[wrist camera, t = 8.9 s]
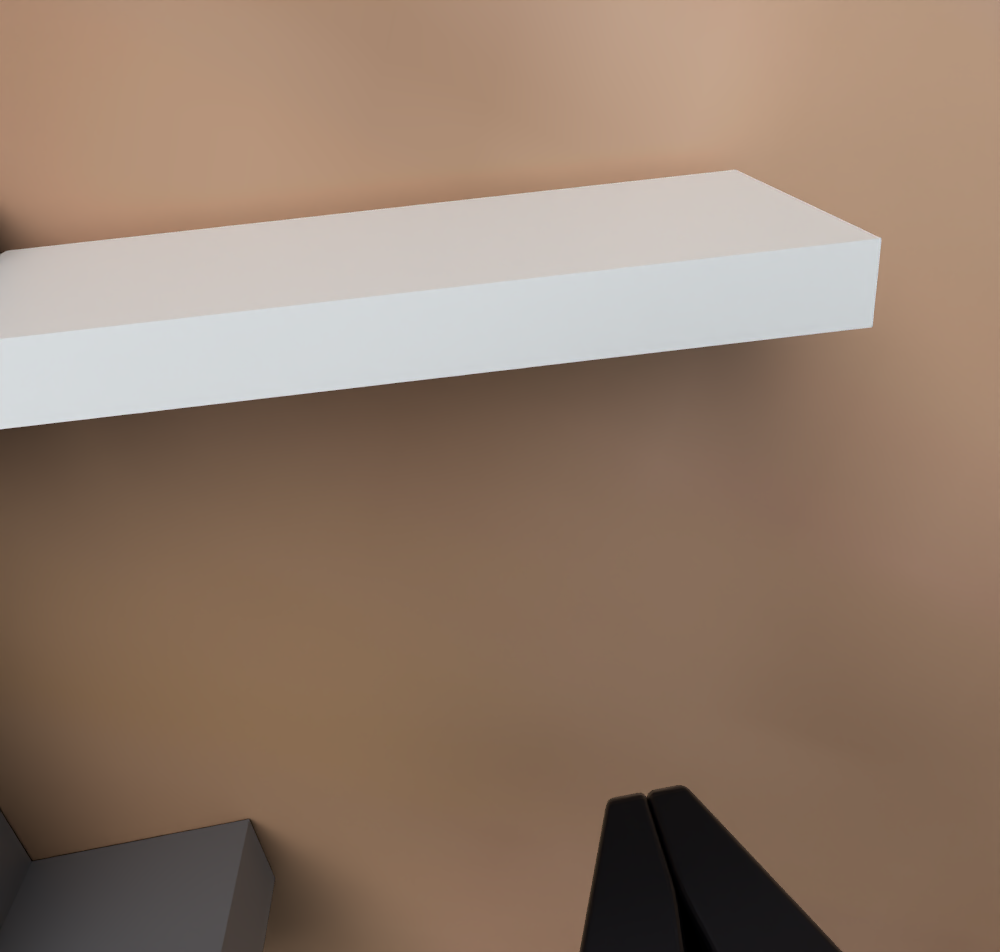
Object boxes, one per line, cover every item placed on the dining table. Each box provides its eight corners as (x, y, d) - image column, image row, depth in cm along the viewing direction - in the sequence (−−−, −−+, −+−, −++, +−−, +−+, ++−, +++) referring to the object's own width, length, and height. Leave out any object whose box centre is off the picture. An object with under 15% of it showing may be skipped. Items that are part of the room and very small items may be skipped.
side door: (735, 169, 14) (881, 238, 10) (734, 233, 15) (872, 327, 10) (6, 250, 14) (-190, 360, 9) (27, 313, 14) (-148, 446, 10)
